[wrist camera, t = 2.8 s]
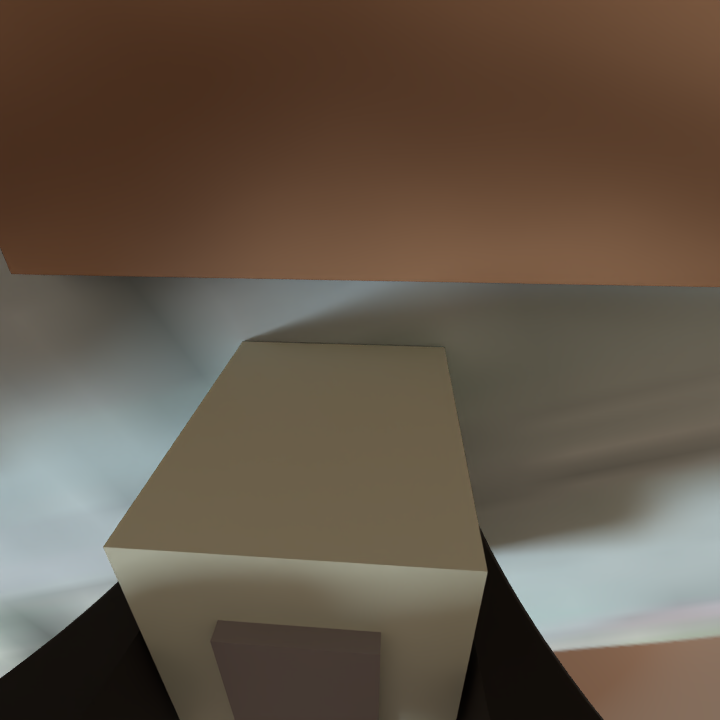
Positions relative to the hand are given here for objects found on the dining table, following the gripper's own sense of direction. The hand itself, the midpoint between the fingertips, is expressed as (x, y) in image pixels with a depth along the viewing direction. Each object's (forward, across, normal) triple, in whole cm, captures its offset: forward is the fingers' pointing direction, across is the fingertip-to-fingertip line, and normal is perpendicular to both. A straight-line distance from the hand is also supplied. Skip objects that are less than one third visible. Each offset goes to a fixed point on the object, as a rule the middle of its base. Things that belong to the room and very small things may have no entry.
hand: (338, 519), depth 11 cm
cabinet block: (+2, 0, 0) cm, 2 cm away
